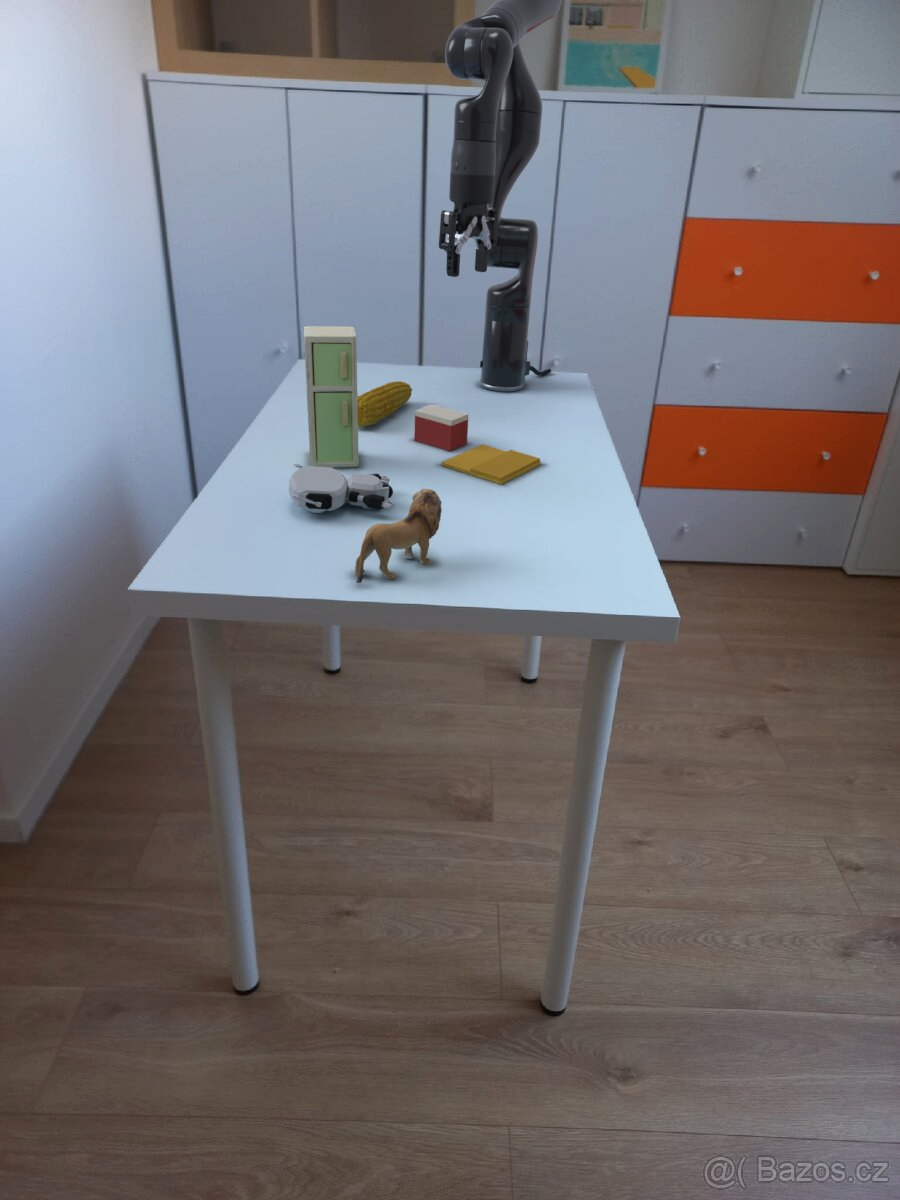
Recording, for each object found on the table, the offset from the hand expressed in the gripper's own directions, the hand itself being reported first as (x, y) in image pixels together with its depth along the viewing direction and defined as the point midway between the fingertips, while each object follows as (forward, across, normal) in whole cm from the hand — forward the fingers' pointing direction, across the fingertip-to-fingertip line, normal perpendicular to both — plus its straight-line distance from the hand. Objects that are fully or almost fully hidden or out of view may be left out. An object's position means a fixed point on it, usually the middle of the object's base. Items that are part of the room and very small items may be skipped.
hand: (467, 273), depth 147 cm
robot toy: (+26, -46, -12) cm, 54 cm away
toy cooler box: (+26, -14, -6) cm, 30 cm away
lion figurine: (+26, -55, -30) cm, 68 cm away
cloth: (+26, -17, -19) cm, 36 cm away
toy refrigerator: (+26, -34, +1) cm, 43 cm away
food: (+26, -10, +11) cm, 30 cm away
